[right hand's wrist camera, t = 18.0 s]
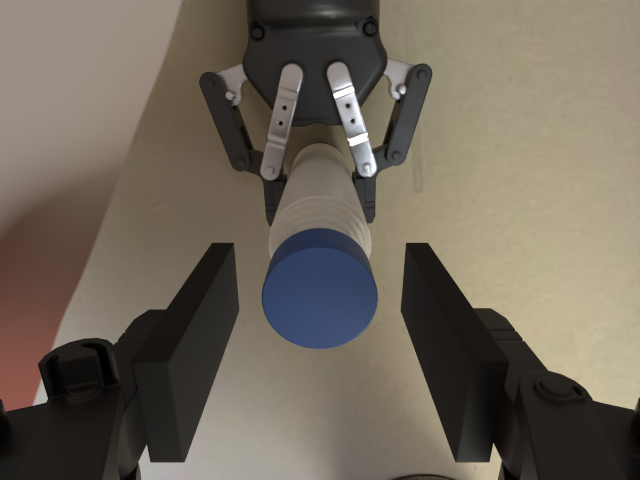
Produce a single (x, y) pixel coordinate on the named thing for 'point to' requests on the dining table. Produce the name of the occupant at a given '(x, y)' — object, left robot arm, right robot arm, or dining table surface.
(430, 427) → the dining table surface
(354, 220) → the bottle
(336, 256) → the cap
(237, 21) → the dining table surface
